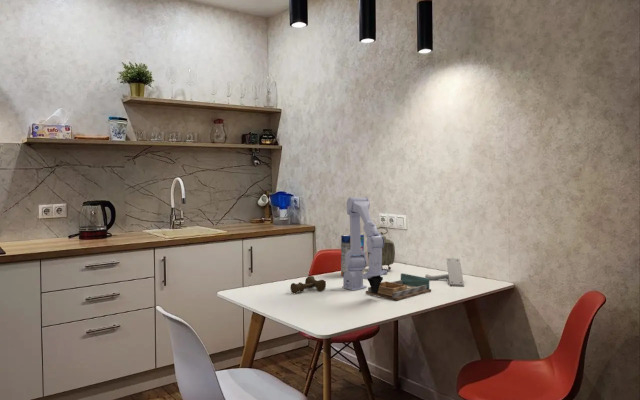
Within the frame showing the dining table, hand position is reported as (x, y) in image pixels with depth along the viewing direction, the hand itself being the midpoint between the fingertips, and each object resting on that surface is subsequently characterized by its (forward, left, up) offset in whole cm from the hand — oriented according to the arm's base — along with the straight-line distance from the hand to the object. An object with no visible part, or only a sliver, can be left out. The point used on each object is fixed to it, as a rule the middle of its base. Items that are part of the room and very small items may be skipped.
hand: (374, 293), depth 211 cm
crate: (+10, 0, -1) cm, 10 cm away
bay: (+17, 0, -2) cm, 17 cm away
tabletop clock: (+51, +39, -3) cm, 64 cm away
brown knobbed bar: (-11, +30, -3) cm, 33 cm away
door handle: (+52, -2, -3) cm, 52 cm away
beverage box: (+29, +41, -3) cm, 50 cm away
